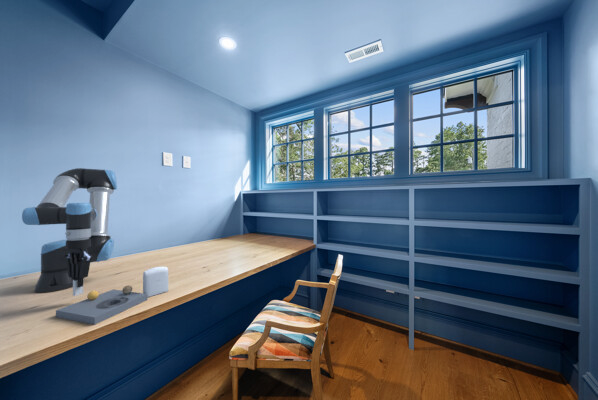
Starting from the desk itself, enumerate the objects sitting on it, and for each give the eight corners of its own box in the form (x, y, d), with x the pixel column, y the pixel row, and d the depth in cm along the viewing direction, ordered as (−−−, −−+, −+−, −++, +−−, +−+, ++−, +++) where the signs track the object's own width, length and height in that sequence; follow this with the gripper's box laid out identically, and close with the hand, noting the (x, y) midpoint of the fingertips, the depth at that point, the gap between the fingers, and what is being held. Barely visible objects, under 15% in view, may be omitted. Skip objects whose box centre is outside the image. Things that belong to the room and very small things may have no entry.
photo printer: (144, 298, 97) (144, 271, 97) (141, 296, 99) (141, 269, 99) (169, 291, 104) (170, 265, 105) (166, 289, 107) (166, 264, 107)
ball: (84, 300, 89) (84, 292, 89) (94, 297, 92) (94, 289, 92) (91, 301, 88) (91, 293, 88) (100, 298, 91) (100, 289, 91)
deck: (55, 316, 81) (55, 310, 81) (113, 294, 101) (113, 289, 101) (94, 324, 76) (94, 317, 76) (147, 299, 96) (147, 294, 96)
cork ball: (120, 294, 95) (120, 286, 95) (128, 291, 98) (128, 283, 98) (126, 295, 94) (126, 287, 94) (134, 292, 97) (134, 284, 97)
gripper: (56, 239, 90) (55, 296, 90) (78, 241, 87) (77, 299, 87) (78, 236, 98) (78, 289, 98) (99, 238, 94) (99, 292, 94)
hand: (77, 294), depth 92 cm, fingers closed
